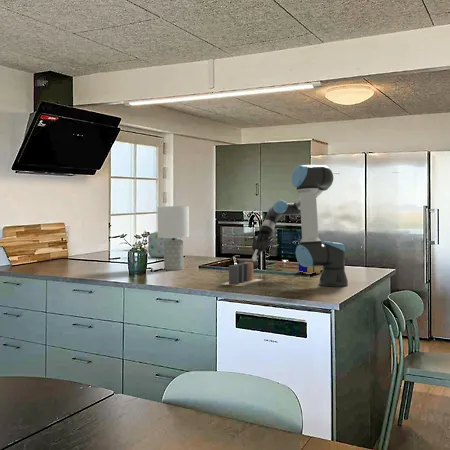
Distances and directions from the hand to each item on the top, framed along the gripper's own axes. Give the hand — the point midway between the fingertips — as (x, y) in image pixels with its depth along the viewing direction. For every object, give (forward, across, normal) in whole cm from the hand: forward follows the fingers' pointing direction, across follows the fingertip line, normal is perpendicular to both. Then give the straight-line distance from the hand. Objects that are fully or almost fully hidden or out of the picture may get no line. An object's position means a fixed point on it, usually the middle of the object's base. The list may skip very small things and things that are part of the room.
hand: (253, 259), depth 305 cm
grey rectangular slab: (+20, -1, +5) cm, 21 cm away
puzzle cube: (-19, -18, -36) cm, 44 cm away
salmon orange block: (+12, 0, -3) cm, 13 cm away
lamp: (+1, +67, -17) cm, 69 cm away
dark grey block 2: (+16, 0, +1) cm, 16 cm away
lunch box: (-35, +114, -54) cm, 131 cm away
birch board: (+18, -1, +2) cm, 18 cm away
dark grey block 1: (+24, -1, +9) cm, 26 cm away
